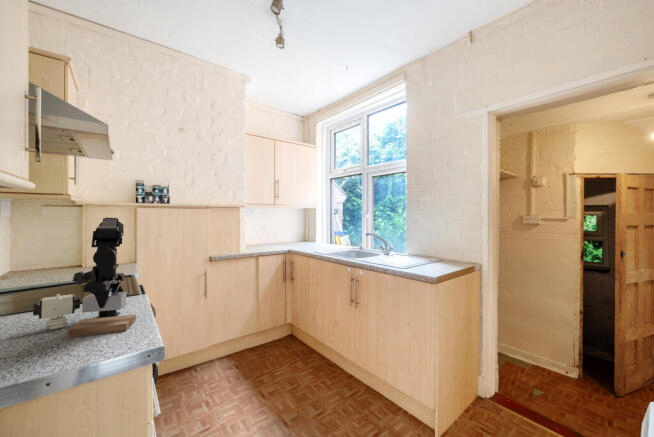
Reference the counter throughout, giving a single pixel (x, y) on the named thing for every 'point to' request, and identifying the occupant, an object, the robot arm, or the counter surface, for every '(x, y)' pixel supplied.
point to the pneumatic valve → (56, 309)
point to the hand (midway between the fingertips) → (105, 305)
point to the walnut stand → (102, 325)
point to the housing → (113, 302)
